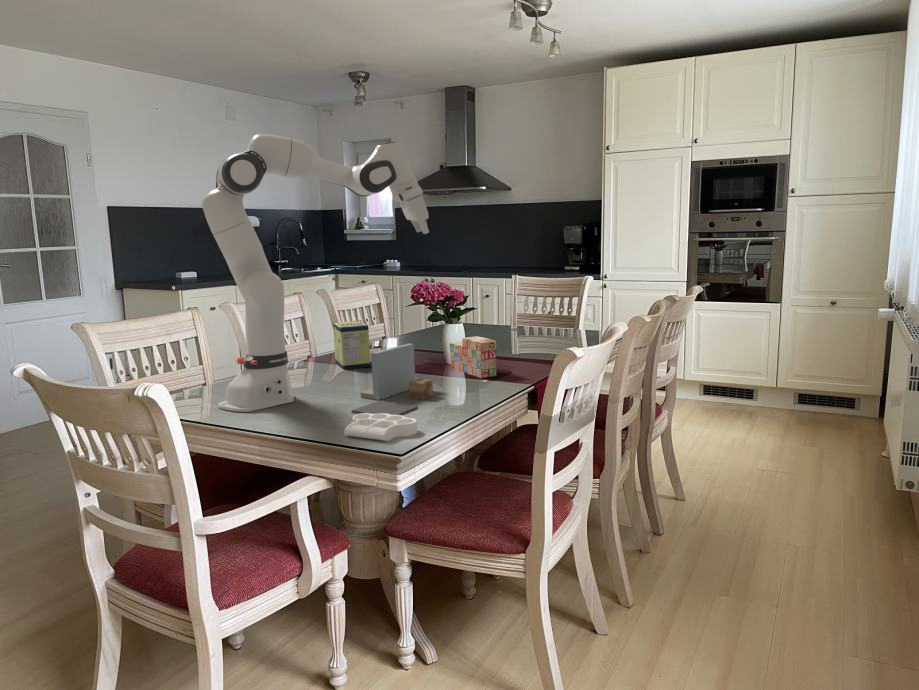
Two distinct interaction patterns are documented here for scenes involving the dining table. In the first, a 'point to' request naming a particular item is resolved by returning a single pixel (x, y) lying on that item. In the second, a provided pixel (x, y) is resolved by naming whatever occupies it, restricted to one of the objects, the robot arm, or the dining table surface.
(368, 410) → the mat
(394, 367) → the pale blue flat slab
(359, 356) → the protein box
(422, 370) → the dining table surface
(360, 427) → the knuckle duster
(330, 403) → the dining table surface
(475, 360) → the stack of blocks
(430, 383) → the walnut cube
